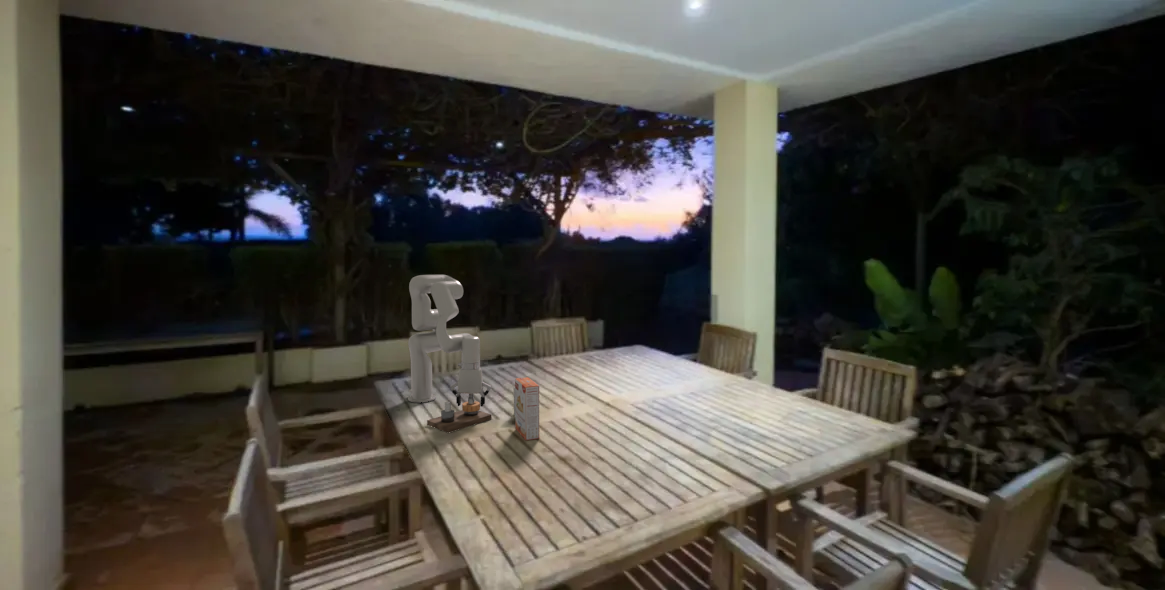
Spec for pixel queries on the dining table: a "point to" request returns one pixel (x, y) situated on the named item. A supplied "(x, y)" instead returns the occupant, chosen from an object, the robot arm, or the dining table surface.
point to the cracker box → (527, 408)
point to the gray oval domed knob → (447, 414)
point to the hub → (471, 402)
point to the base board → (459, 421)
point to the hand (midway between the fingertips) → (470, 405)
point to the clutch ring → (471, 407)
